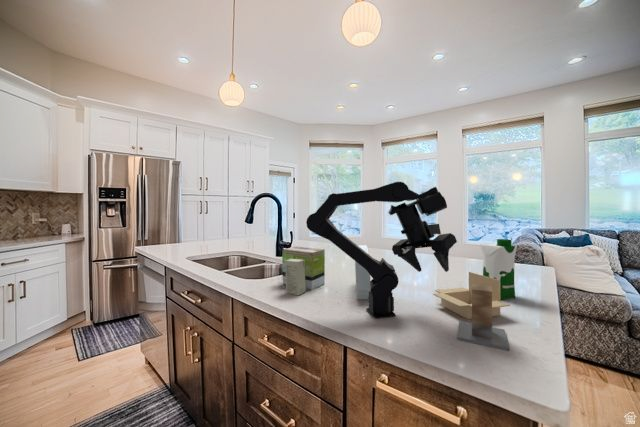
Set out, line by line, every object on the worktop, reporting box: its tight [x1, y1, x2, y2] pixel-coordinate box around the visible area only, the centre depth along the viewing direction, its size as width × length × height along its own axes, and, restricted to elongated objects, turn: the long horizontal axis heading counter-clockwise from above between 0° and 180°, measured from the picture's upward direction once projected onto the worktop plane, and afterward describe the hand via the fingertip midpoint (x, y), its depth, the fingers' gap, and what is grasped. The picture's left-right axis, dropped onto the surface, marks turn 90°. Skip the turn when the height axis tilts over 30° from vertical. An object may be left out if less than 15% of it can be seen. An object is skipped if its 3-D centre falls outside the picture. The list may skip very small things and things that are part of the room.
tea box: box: [281, 246, 326, 291], centre depth 109 cm, size 15×10×15 cm, turn 58°
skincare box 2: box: [354, 244, 371, 301], centre depth 100 cm, size 21×5×16 cm, turn 172°
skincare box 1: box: [285, 259, 307, 296], centre depth 98 cm, size 6×4×12 cm
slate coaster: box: [456, 320, 510, 351], centre depth 64 cm, size 10×10×1 cm
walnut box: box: [471, 284, 493, 339], centre depth 64 cm, size 4×5×11 cm
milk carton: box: [480, 238, 518, 301], centre depth 93 cm, size 9×9×20 cm
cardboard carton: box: [432, 271, 511, 320], centre depth 80 cm, size 14×17×10 cm
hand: (433, 271), depth 77 cm, fingers open, 9 cm apart
